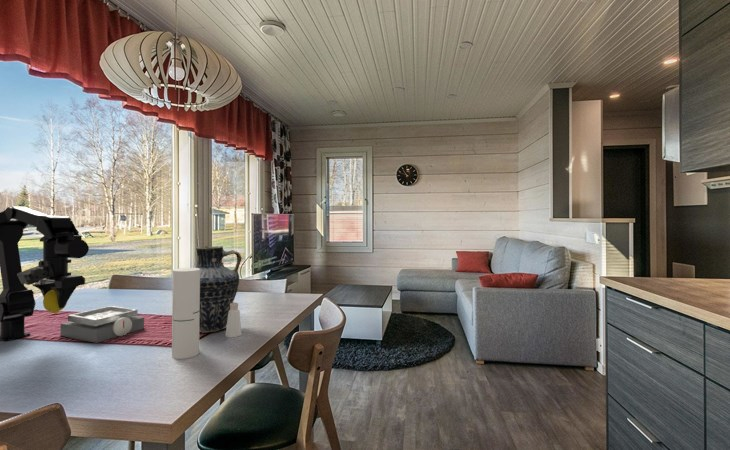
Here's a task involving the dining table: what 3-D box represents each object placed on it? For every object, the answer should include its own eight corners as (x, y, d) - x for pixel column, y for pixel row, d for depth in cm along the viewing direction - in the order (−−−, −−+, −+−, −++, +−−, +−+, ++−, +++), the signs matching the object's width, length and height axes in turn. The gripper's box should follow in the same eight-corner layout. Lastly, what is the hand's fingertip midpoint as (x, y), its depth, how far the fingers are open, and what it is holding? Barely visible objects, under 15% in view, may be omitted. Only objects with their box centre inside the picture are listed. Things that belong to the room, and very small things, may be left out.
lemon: (52, 316, 104) (52, 290, 104) (38, 315, 105) (38, 289, 105) (71, 312, 109) (71, 286, 109) (57, 310, 110) (57, 285, 110)
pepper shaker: (244, 332, 122) (245, 301, 122) (237, 338, 117) (237, 305, 117) (230, 332, 123) (230, 301, 123) (222, 337, 117) (222, 304, 117)
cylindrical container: (204, 351, 105) (205, 268, 104) (185, 360, 98) (186, 272, 97) (186, 348, 107) (186, 267, 107) (166, 356, 100) (166, 270, 100)
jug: (187, 342, 112) (188, 249, 111) (172, 327, 126) (173, 245, 126) (249, 330, 125) (250, 247, 125) (229, 318, 140) (230, 243, 140)
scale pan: (67, 321, 117) (67, 315, 116) (110, 311, 130) (111, 305, 130) (95, 326, 112) (95, 320, 112) (137, 315, 125) (137, 309, 125)
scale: (60, 335, 116) (60, 317, 116) (110, 322, 131) (110, 306, 131) (98, 343, 110) (98, 324, 110) (146, 328, 125) (146, 312, 125)
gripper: (3, 257, 103) (3, 309, 103) (42, 261, 96) (41, 317, 96) (49, 254, 113) (48, 301, 113) (86, 257, 107) (86, 308, 107)
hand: (55, 307), depth 107 cm, fingers closed on lemon, 5 cm apart
